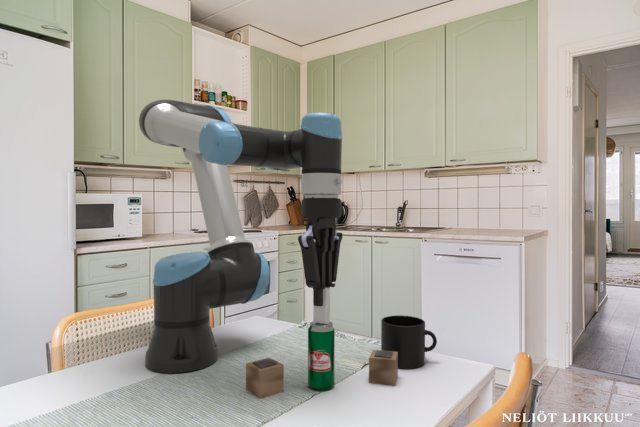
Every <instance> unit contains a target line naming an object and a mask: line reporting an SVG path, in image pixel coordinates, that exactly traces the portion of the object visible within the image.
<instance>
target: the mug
mask: <svg viewBox="0 0 640 427" xmlns="http://www.w3.org/2000/svg"><path fill="white" fill-rule="evenodd" d="M380 326H381V328H380V329H381V331H380V332H381V334H380V339H381V340H380V341H381V343H380V348H381V350H383V351H394V352H398V369H402V370H411V369H418V368H421V367H423V366H424V364H425V362H426V353H427V352H431V351H433V350H434V349H435V348H436V346H437V342H438V340H437V336H436V335H435V333H434V332H432V331H431V330H428V329H426V321H425V320H424V319H422V318H420V317H416V316H412V315H401V314H400V315H399V314H398V315H389V316H384V317H383V318H381V325H380ZM426 336H430V337H431V338H432V344H431V345H430V346H429V347H427V346H426Z"/></svg>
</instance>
